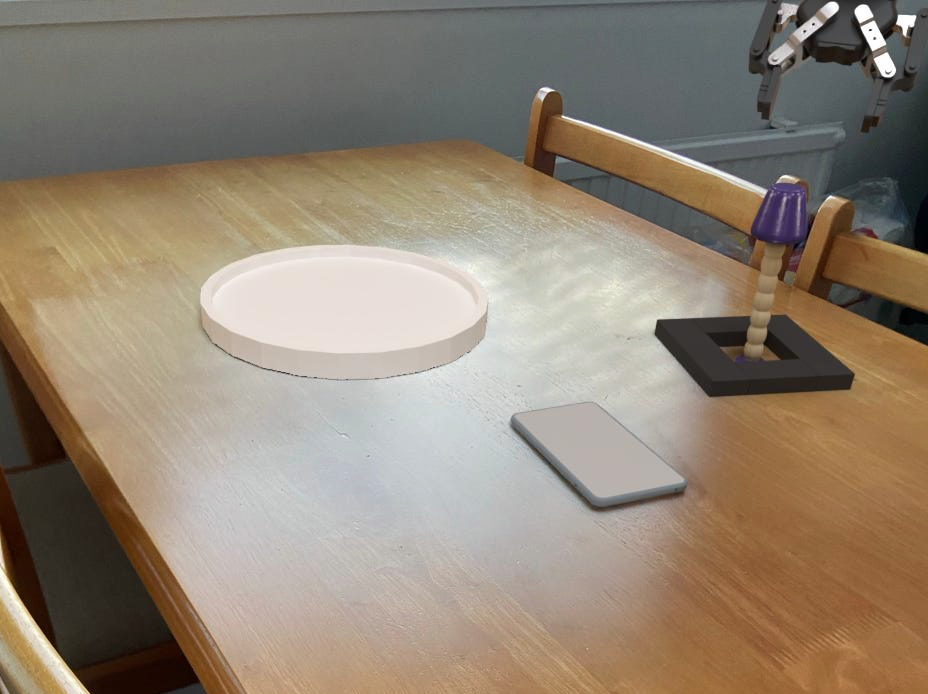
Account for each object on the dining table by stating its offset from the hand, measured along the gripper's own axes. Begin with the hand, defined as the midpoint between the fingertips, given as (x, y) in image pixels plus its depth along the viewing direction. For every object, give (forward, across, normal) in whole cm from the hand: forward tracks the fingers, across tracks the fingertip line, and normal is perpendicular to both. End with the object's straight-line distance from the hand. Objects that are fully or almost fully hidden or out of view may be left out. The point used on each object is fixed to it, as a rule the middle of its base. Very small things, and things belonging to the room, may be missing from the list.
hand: (815, 120), depth 87 cm
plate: (+24, -39, +4) cm, 46 cm away
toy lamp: (+20, 0, +8) cm, 22 cm away
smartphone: (+36, -8, -7) cm, 37 cm away
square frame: (+20, 0, +8) cm, 22 cm away
